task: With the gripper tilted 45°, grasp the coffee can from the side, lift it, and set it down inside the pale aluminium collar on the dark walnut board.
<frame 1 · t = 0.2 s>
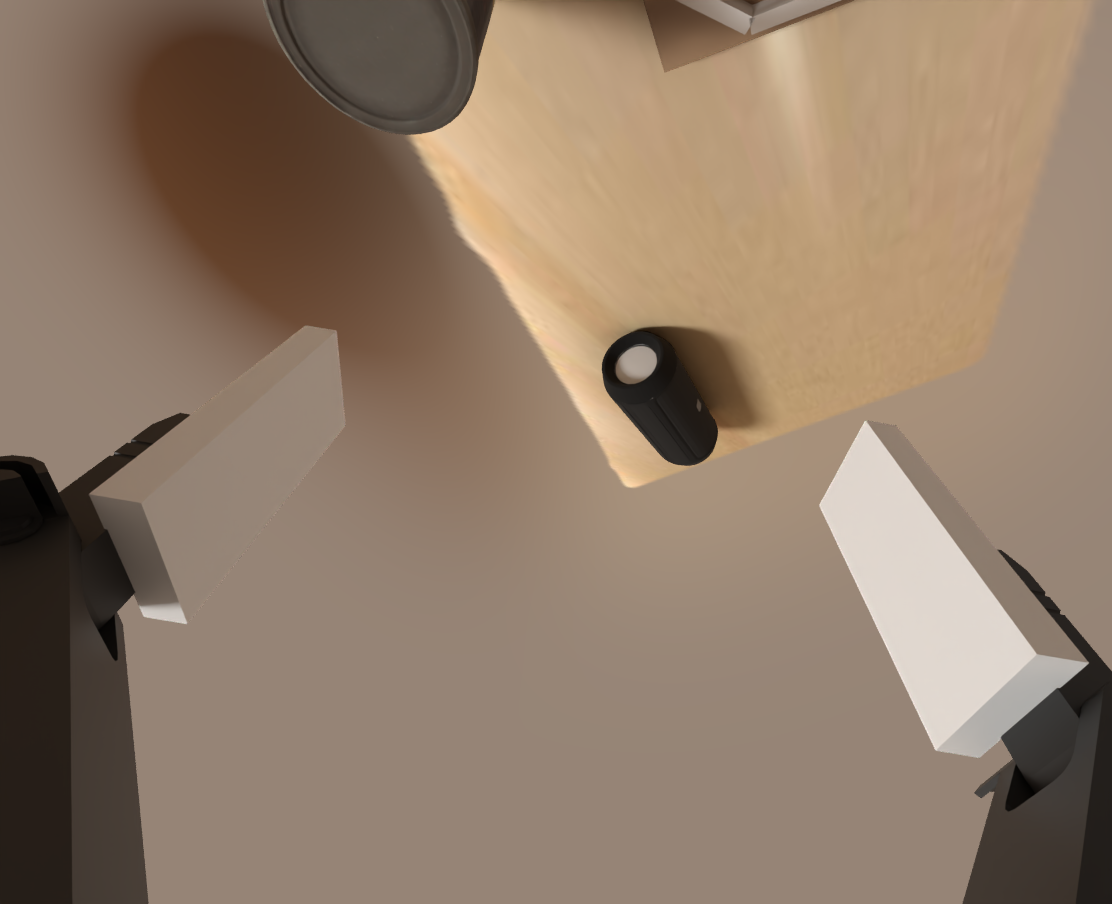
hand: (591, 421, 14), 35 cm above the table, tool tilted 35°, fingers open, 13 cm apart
portable speaker: (666, 374, 79), on the table
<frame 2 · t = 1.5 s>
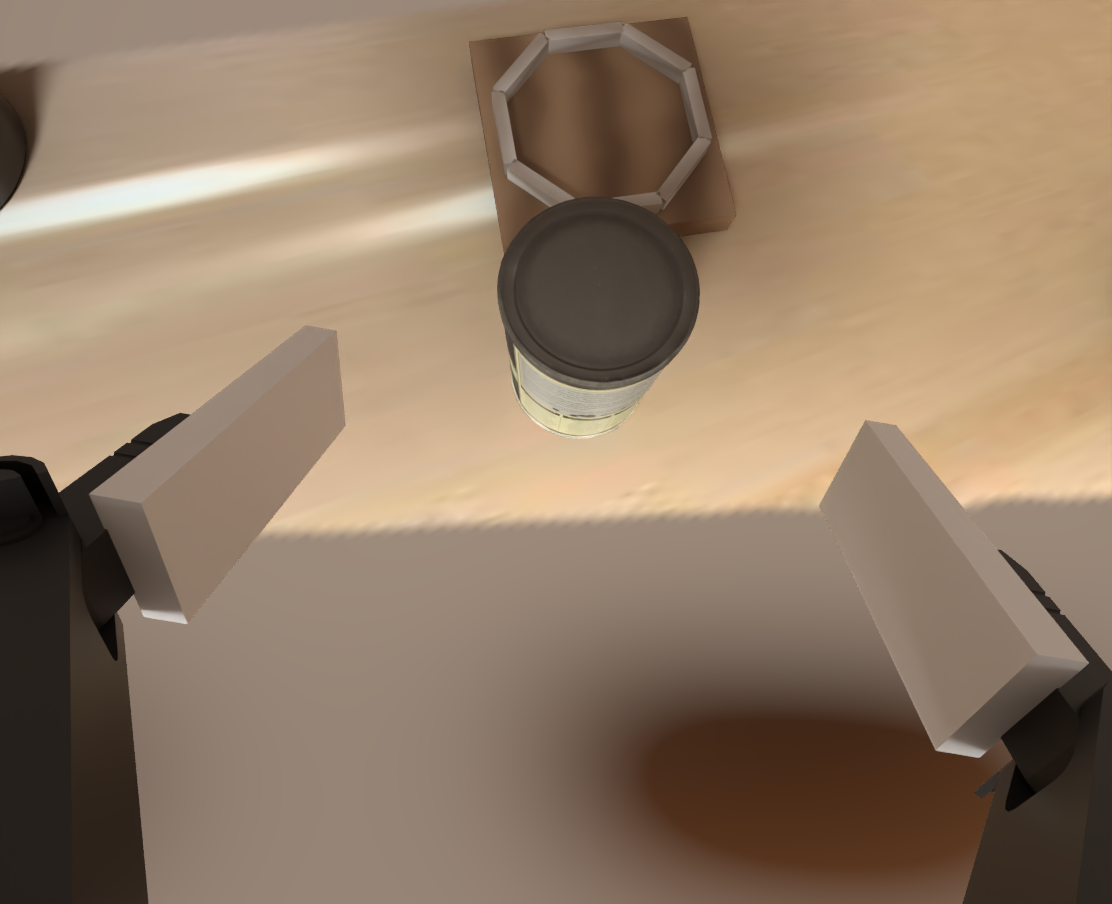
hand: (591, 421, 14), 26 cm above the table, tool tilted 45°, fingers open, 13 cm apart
coffee can: (577, 375, 42), on the table
collar board: (597, 144, 45), on the table
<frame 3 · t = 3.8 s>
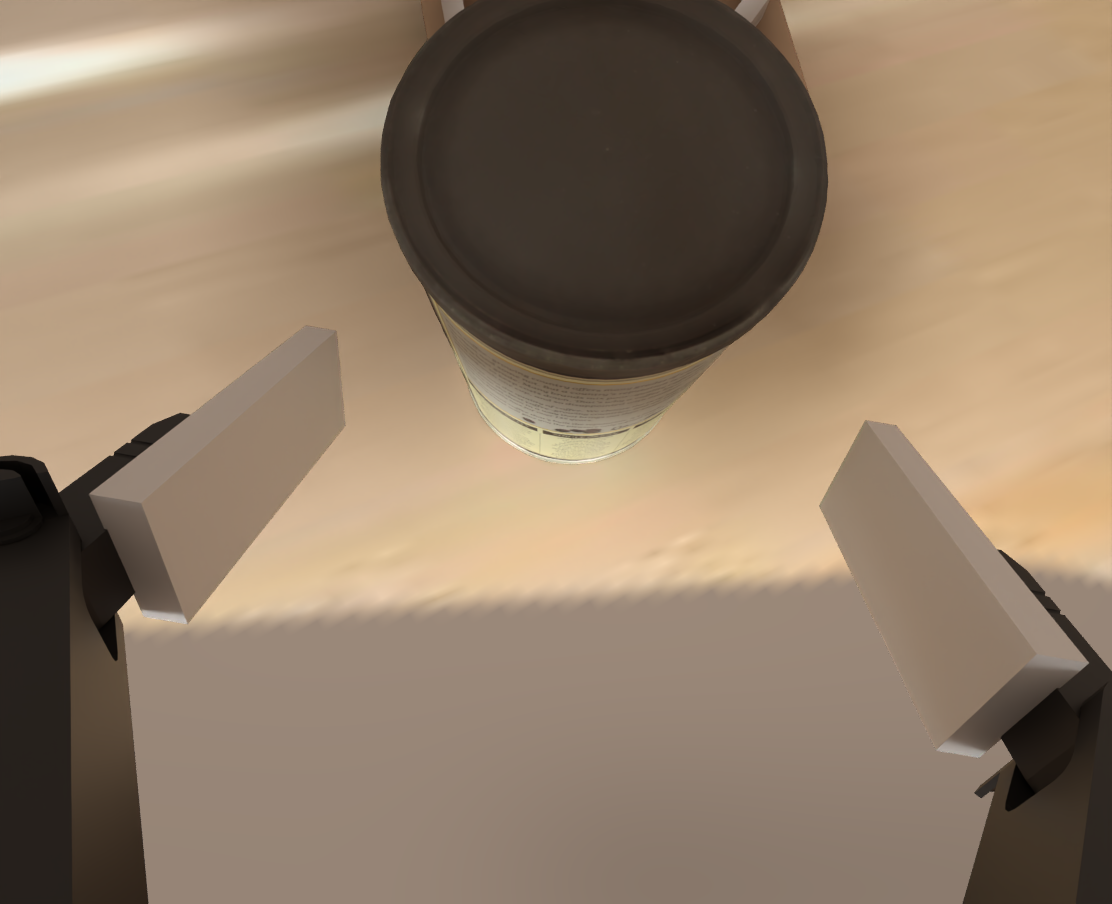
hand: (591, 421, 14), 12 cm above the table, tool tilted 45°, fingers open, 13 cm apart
coffee can: (570, 363, 26), on the table
collar board: (593, 17, 30), on the table
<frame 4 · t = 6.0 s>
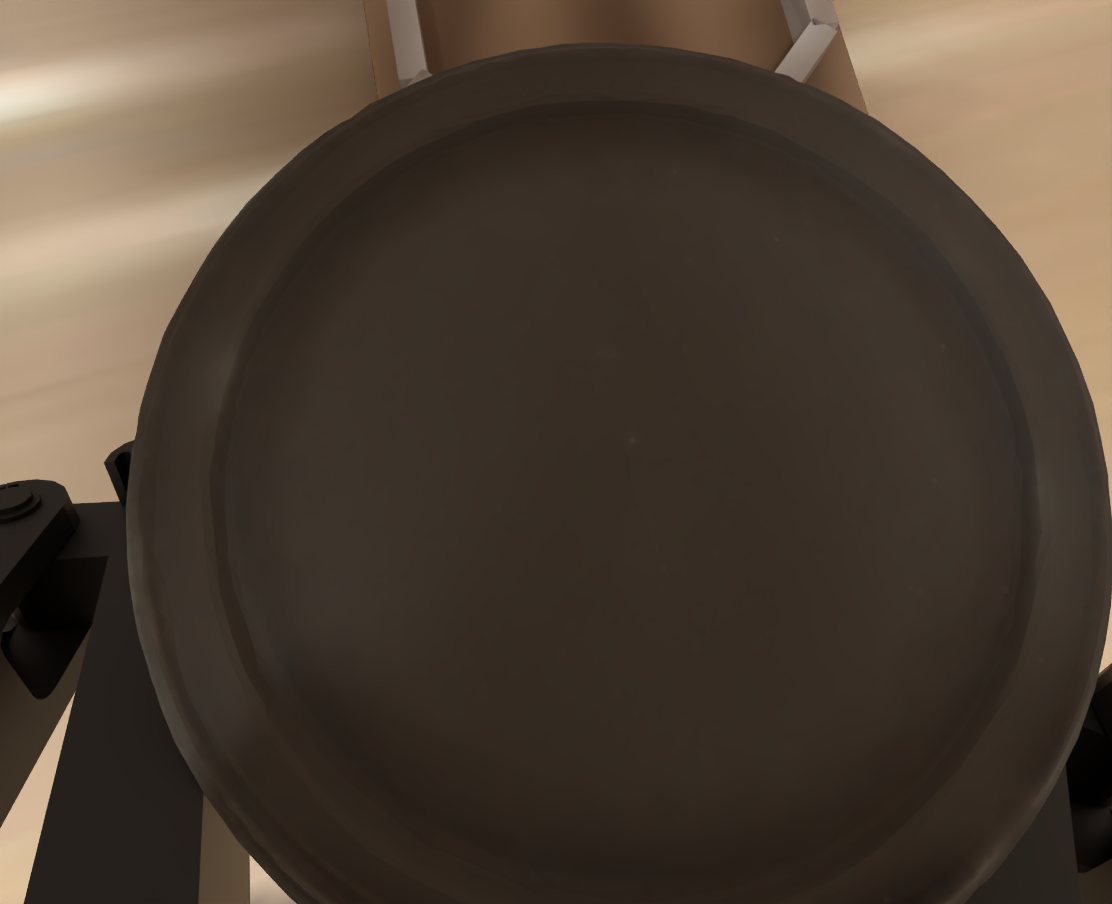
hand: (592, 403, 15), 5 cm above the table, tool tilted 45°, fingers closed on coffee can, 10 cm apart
coffee can: (565, 525, 20), on the table, touching gripper
collar board: (597, 57, 23), on the table
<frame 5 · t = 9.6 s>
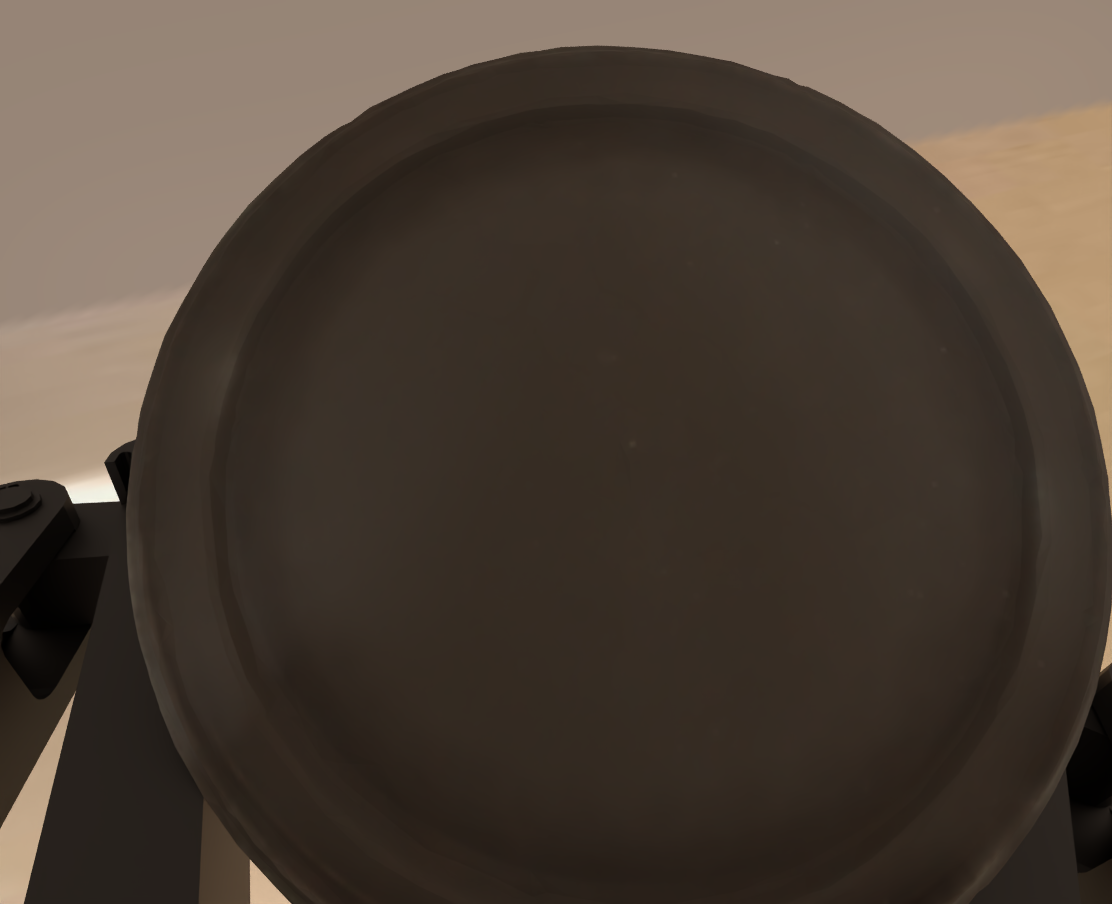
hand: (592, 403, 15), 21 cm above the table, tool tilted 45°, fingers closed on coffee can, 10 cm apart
coffee can: (565, 526, 20), point 15 cm above the table, touching gripper
when the fingers open (9 cm above the table, at t = 13.5 s): coffee can drops 2 cm, resting on collar board.
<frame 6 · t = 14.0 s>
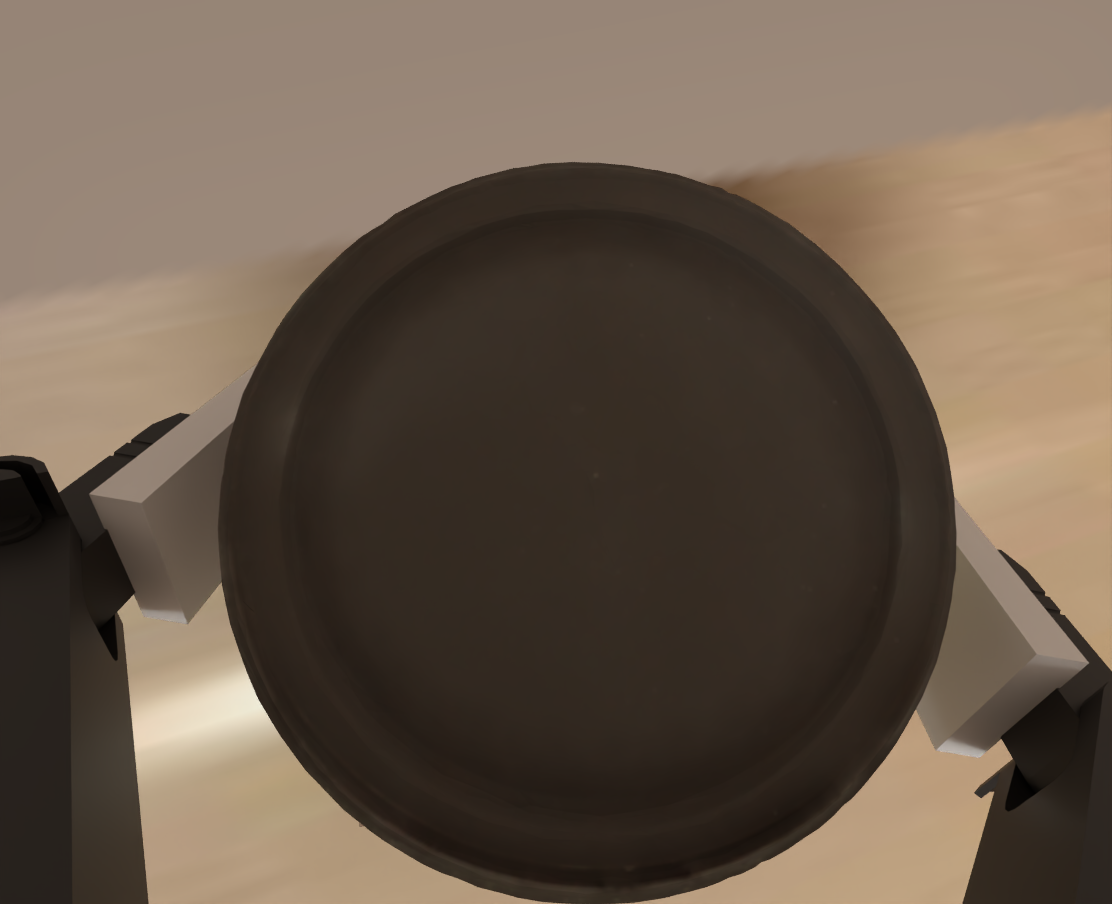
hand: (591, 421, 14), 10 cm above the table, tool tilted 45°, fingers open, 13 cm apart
coffee can: (557, 529, 22), point 2 cm above the table, touching collar board
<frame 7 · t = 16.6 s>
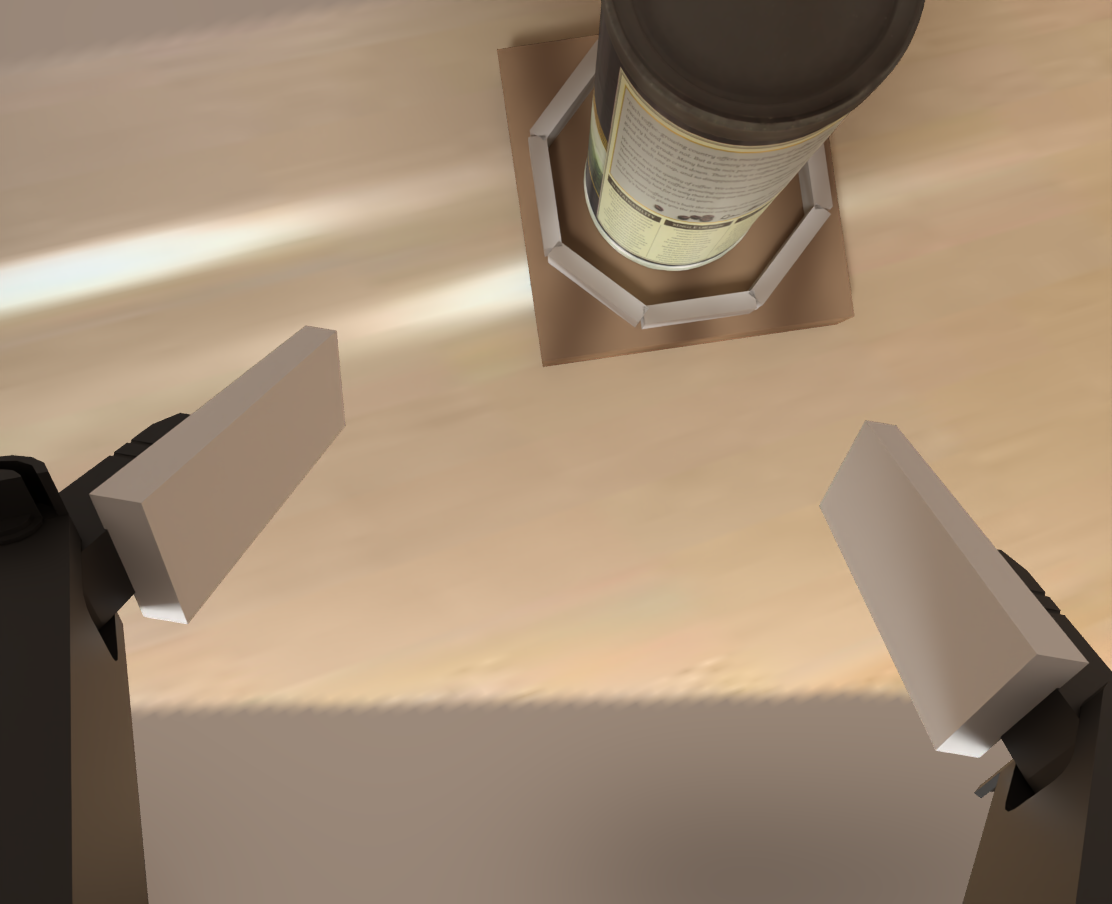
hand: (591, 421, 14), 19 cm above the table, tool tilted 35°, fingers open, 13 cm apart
coffee can: (671, 185, 31), point 2 cm above the table, touching collar board
collar board: (668, 198, 33), on the table
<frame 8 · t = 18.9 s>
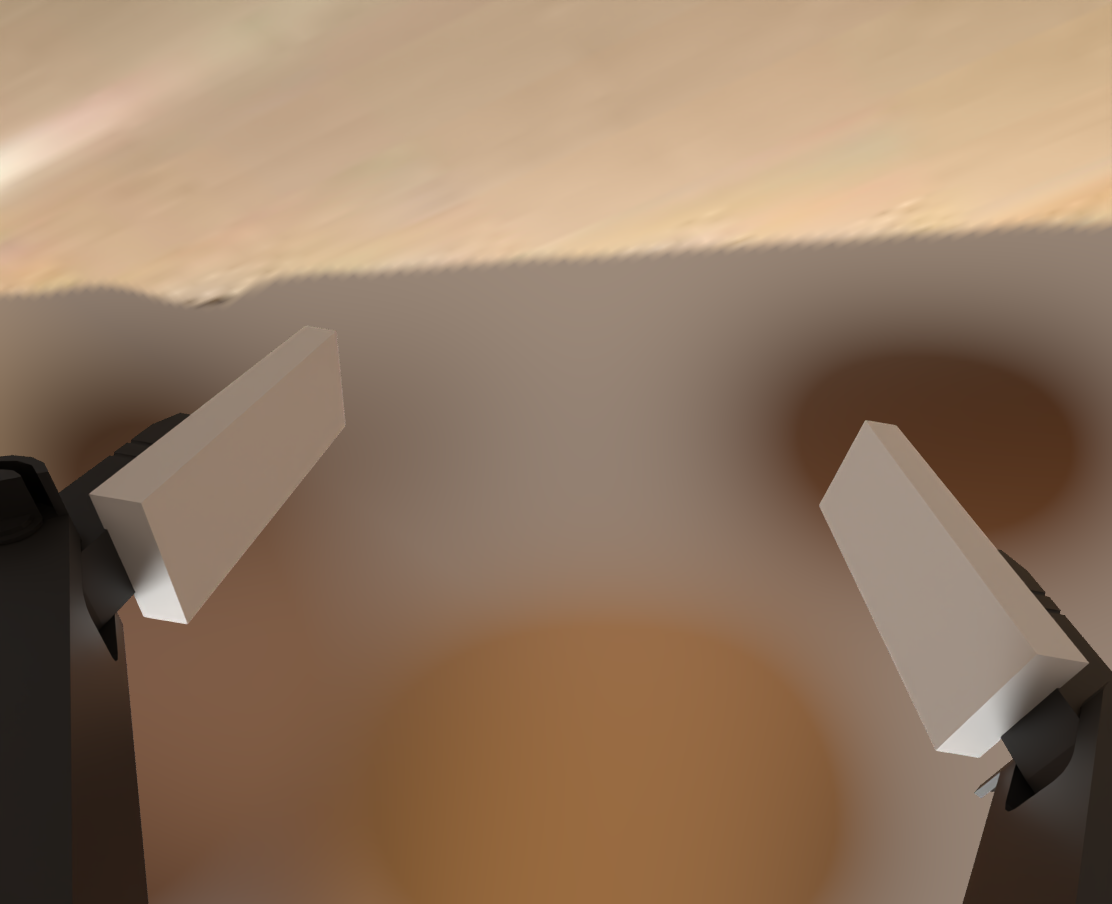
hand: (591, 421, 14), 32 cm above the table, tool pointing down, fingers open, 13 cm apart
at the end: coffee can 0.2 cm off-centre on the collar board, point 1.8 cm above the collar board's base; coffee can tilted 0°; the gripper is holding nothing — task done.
